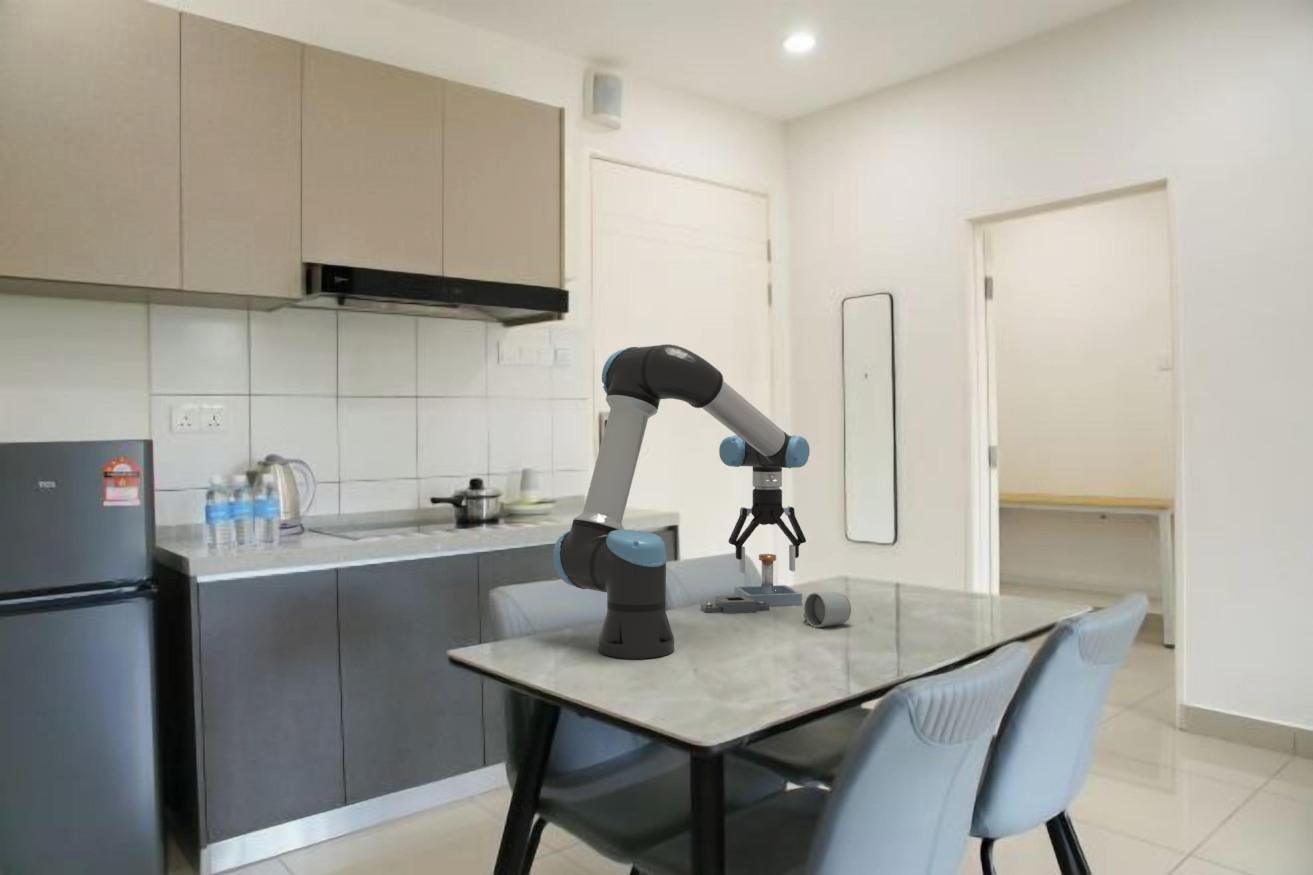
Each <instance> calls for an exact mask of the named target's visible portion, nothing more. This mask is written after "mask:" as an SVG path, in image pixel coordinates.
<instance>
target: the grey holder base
mask: <svg viewBox="0 0 1313 875" xmlns="http://www.w3.org/2000/svg"><path fill="white" fill-rule="evenodd" d="M714 601H715V602H714V603H712V602H706V603H700V610H702V611H703V613H723V614H741V613H742V614H743V613H745V614H747V613H756V612H758V611H759V612H763V611H764V612H765V611H770V607H771V606H770V605H768V604H767V603H765V602H764V601H757V602H755V601H754V600H753V599H751V598H749V597H748V596H746V595H745V596H734V595H725V596H724V595H719V596H715V598H714Z"/></svg>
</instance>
